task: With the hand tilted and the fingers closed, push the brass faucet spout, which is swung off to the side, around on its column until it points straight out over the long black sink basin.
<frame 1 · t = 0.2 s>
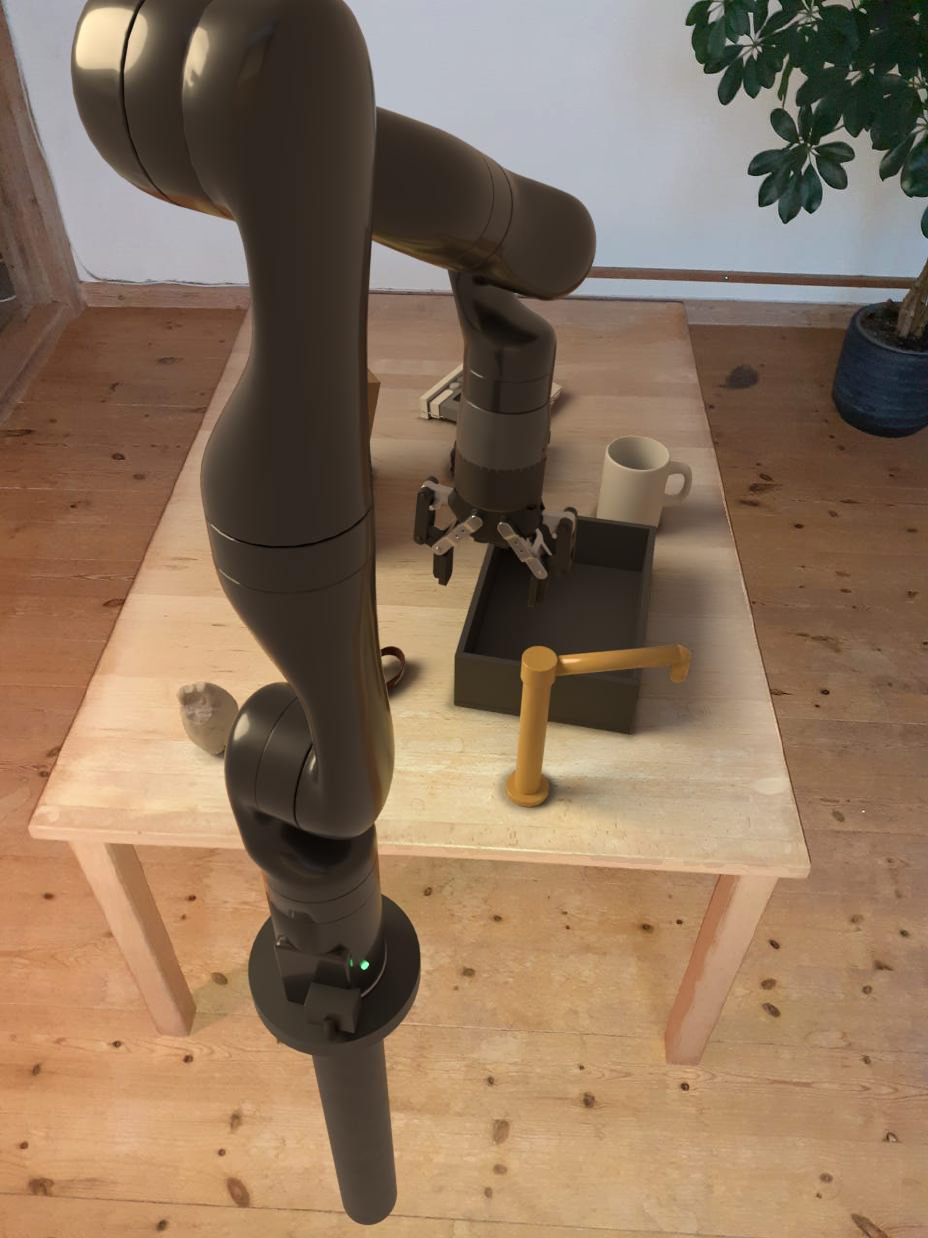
hand: (489, 590, 91), 22 cm above the table, tool pointing down, fingers open, 8 cm apart
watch: (378, 682, 112), on the table
faucet column: (526, 789, 101), on the table
sink: (557, 634, 118), on the table
mug: (639, 521, 135), on the table
crystal cluster: (492, 470, 143), on the table
photo frame: (340, 506, 136), on the table
fossil: (218, 747, 105), on the table
alarm clock: (492, 408, 156), on the table
faucet spout: (606, 665, 90), point 17 cm above the table, hinge at -70.0°
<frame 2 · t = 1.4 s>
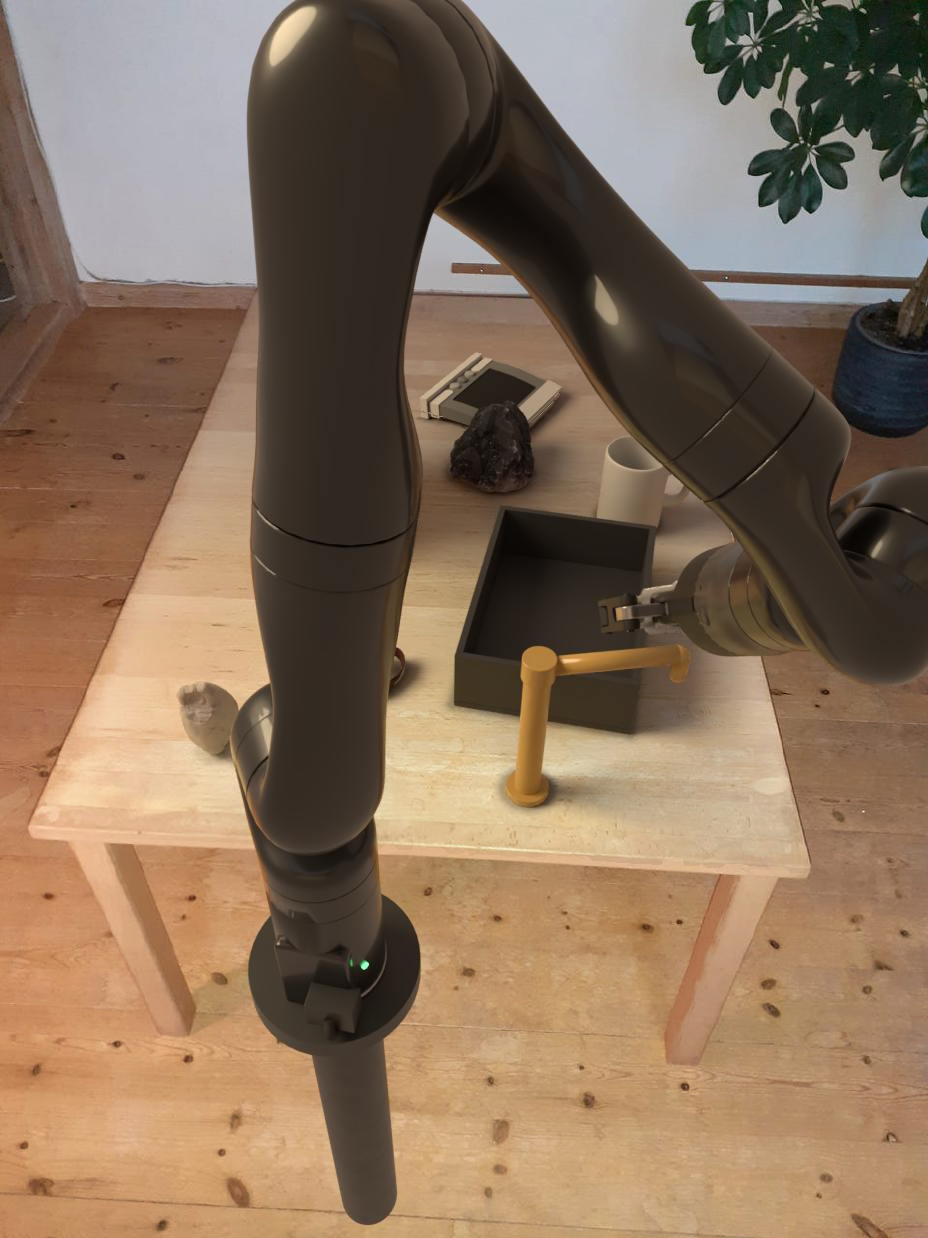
hand: (668, 610, 79), 29 cm above the table, tool tilted 45°, fingers open, 8 cm apart
nothing on the table moved.
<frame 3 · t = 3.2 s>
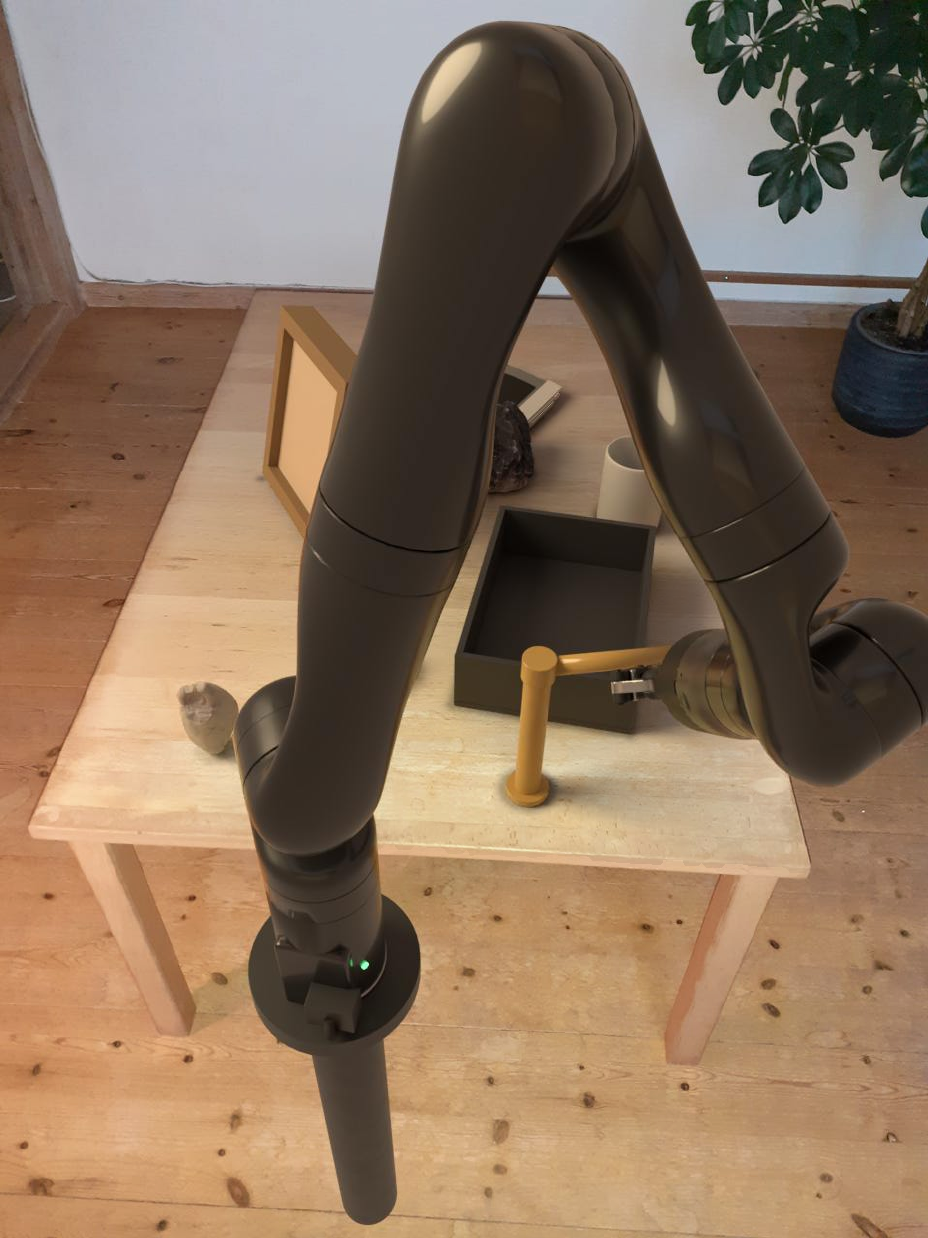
hand: (654, 676, 85), 20 cm above the table, tool tilted 45°, fingers closed
nothing on the table moved.
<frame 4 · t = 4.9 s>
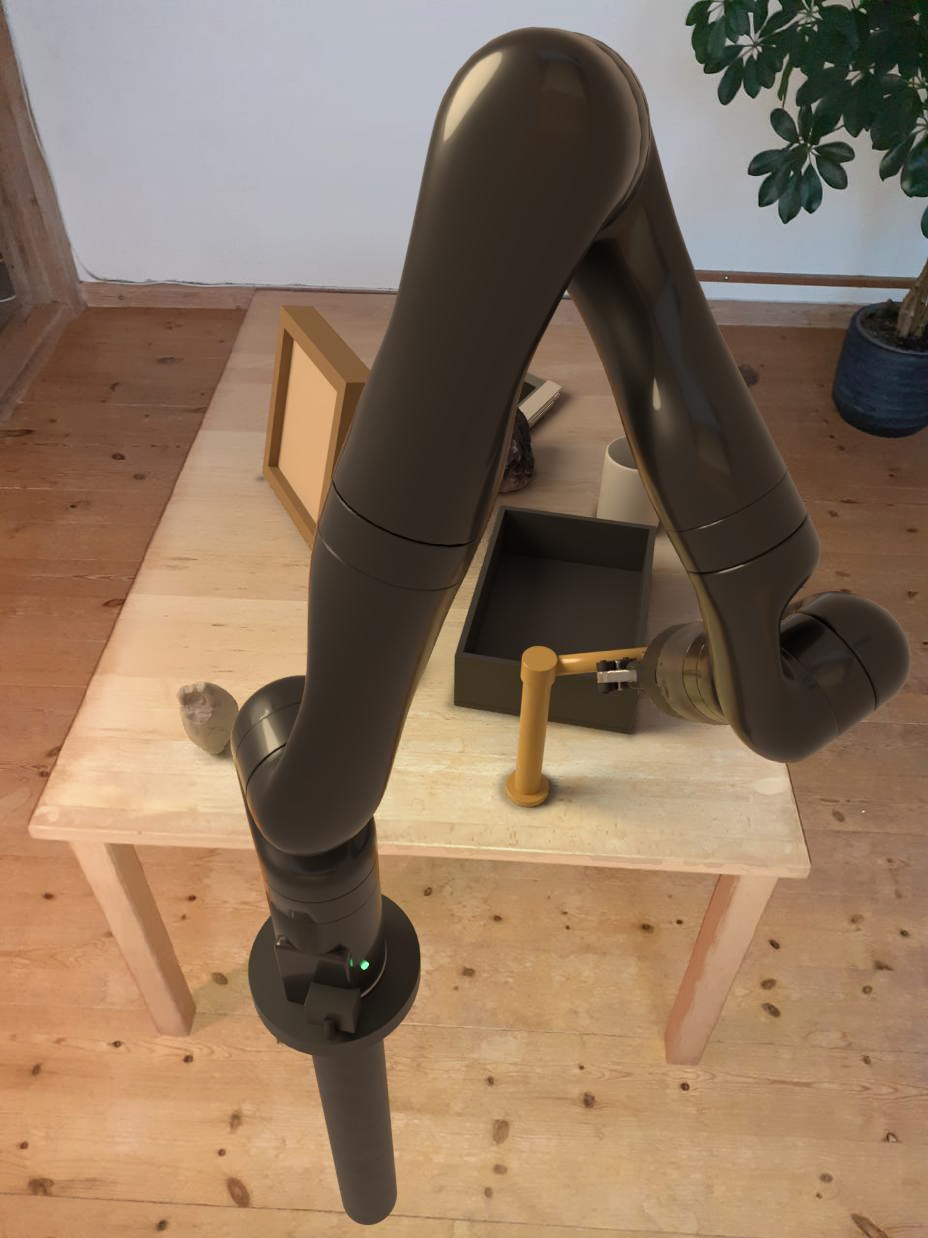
hand: (639, 669, 89), 18 cm above the table, tool tilted 45°, fingers closed
faucet spout: (606, 665, 90), point 17 cm above the table, hinge at -69.6°, touching gripper
everything else where it was.
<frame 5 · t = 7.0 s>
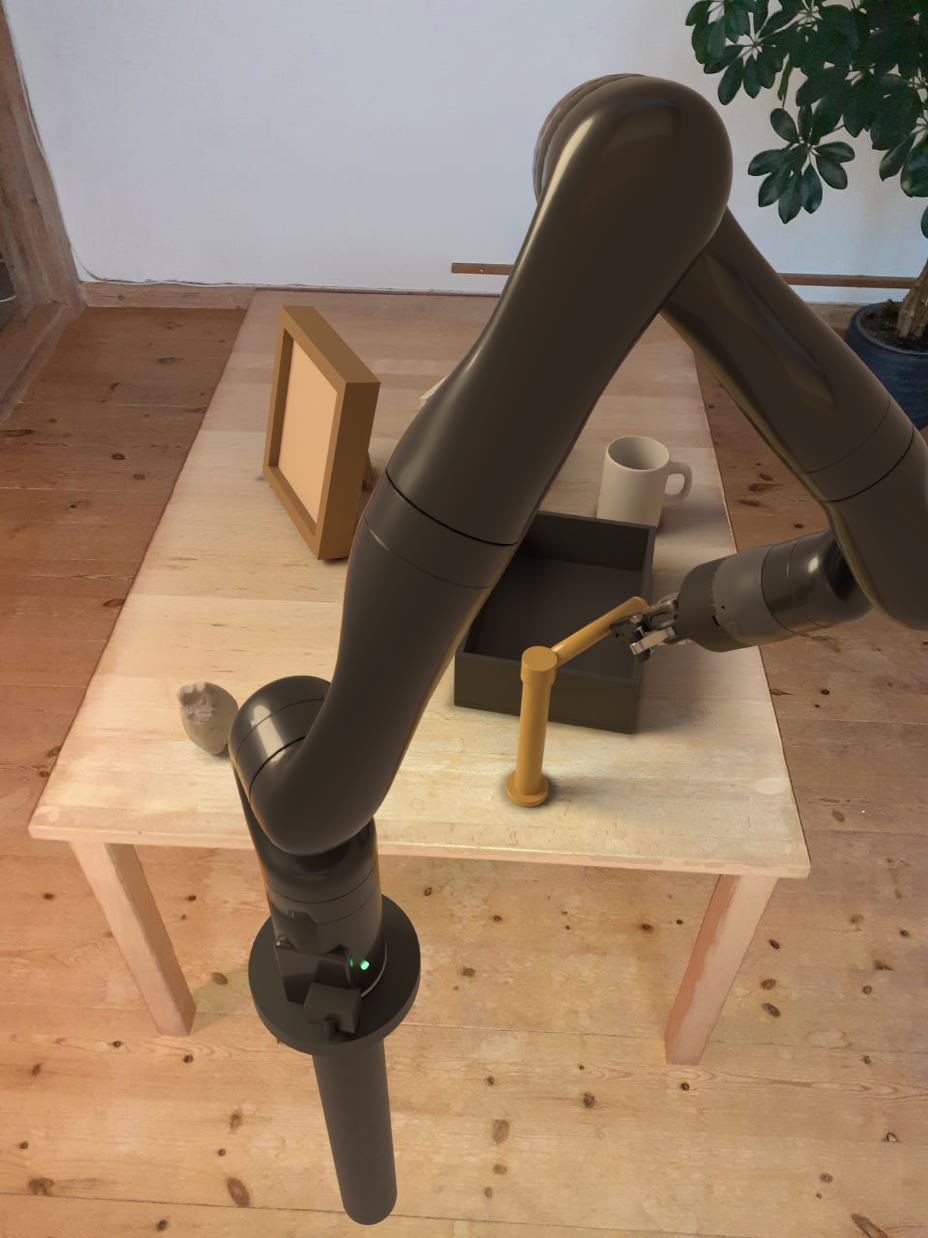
hand: (618, 631, 92), 18 cm above the table, tool tilted 45°, fingers closed
faucet spout: (587, 640, 92), point 17 cm above the table, hinge at -37.7°, touching gripper
everything else where it was.
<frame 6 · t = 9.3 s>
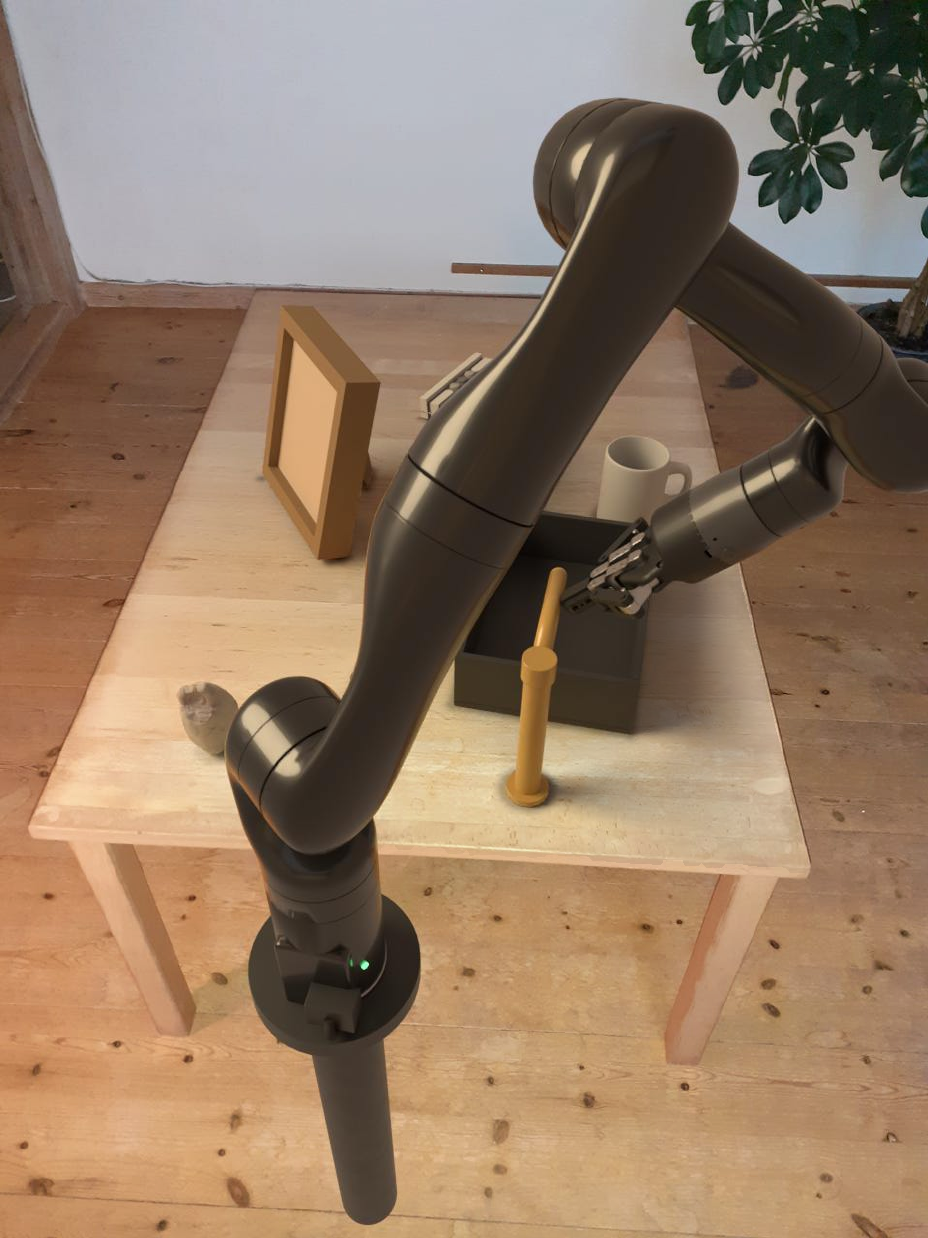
hand: (566, 604, 95), 18 cm above the table, tool tilted 45°, fingers closed
faucet spout: (548, 624, 94), point 17 cm above the table, hinge at -0.1°, touching gripper
everything else where it was.
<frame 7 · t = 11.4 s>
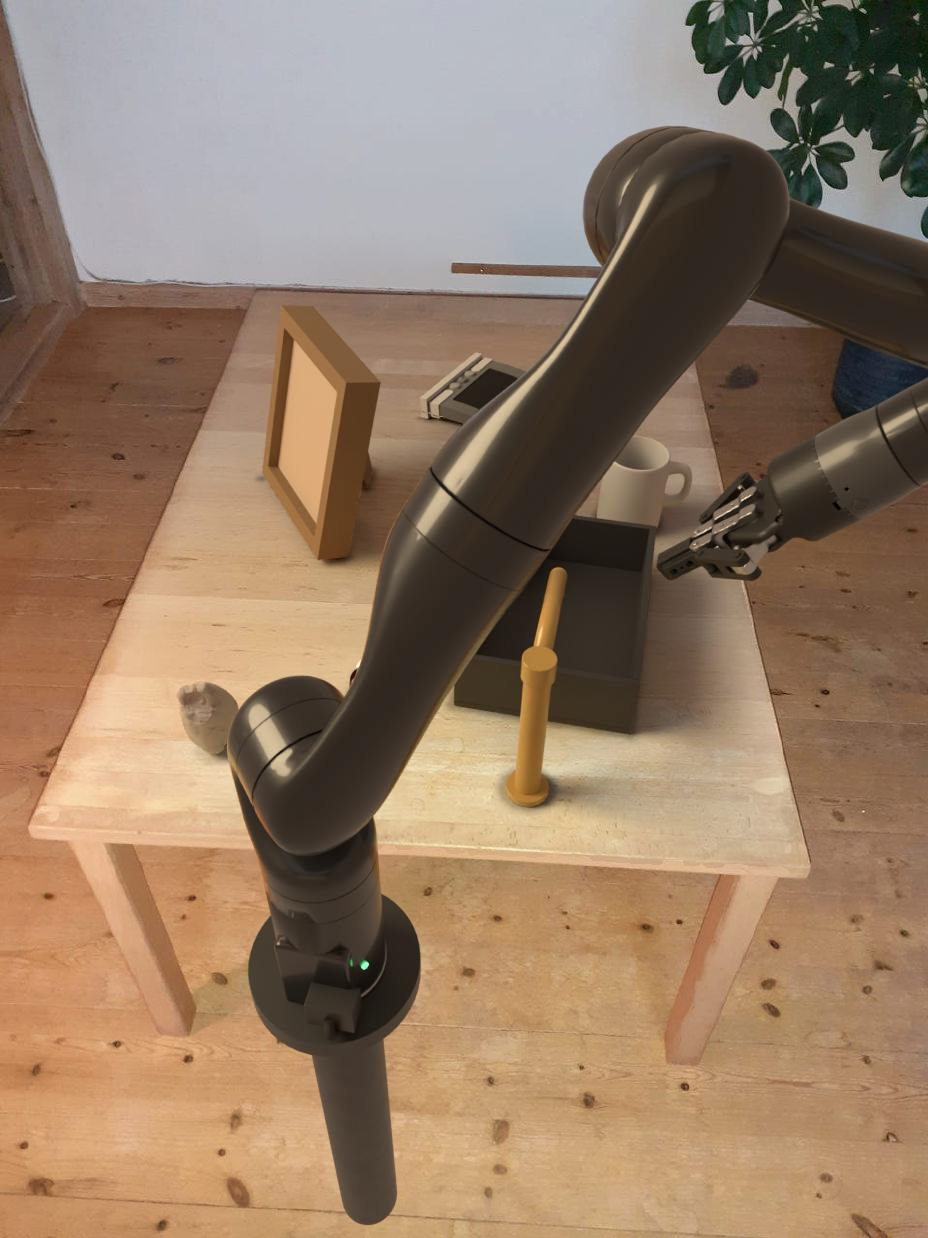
hand: (662, 568, 87), 26 cm above the table, tool tilted 45°, fingers closed
faucet spout: (548, 624, 94), point 17 cm above the table, hinge at -0.1°
everything else where it was.
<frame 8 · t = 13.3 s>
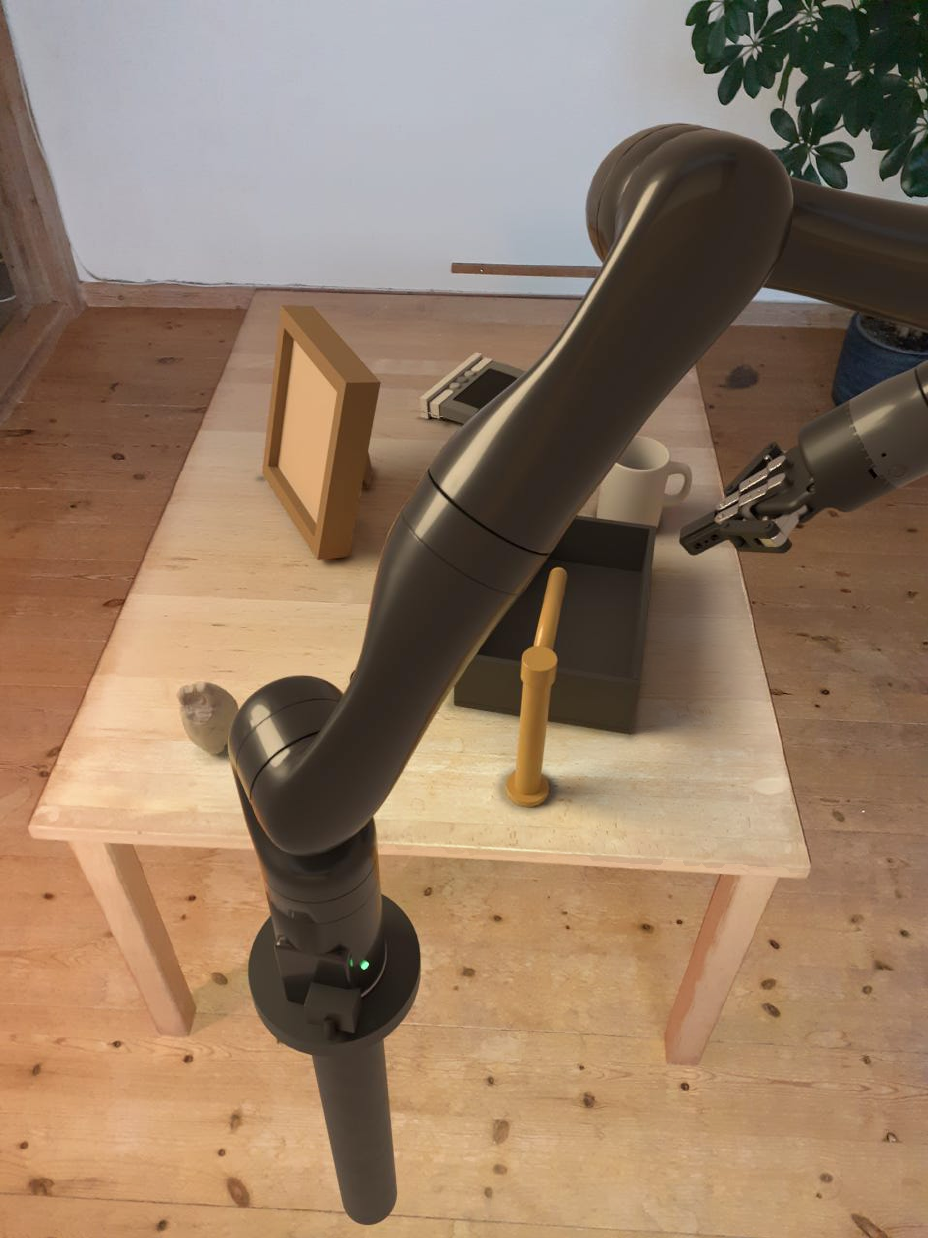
hand: (685, 543, 83), 30 cm above the table, tool tilted 45°, fingers closed
nothing on the table moved.
at the end: faucet spout at +0° (first picture: -70°); faucet spout reached +0° during the clip, +0° at the end; faucet spout 0.0 cm from the target spot on the sink, point 16.8 cm above the sink's base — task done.
